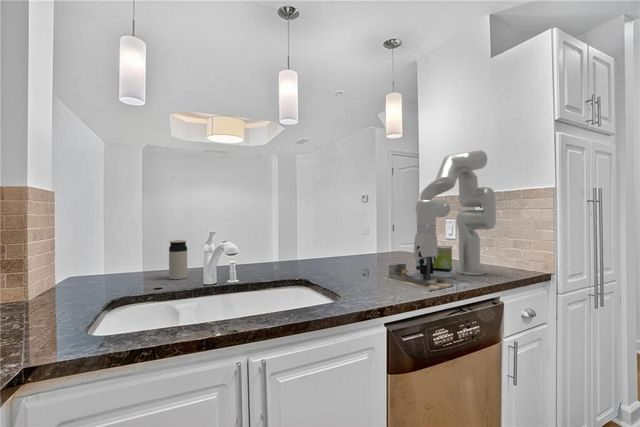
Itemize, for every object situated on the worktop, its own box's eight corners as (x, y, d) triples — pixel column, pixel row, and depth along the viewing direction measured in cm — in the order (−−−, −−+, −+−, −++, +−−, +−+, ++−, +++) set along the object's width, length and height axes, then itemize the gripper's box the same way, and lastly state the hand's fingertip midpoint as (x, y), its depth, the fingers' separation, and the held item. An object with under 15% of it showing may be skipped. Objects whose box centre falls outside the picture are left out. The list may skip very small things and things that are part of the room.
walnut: (404, 277, 145) (404, 268, 145) (411, 278, 141) (411, 269, 141) (398, 278, 143) (398, 269, 143) (405, 279, 139) (405, 270, 139)
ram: (415, 277, 142) (414, 252, 142) (438, 282, 132) (438, 254, 132) (404, 279, 138) (403, 253, 138) (427, 284, 128) (426, 256, 128)
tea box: (415, 277, 151) (415, 246, 151) (419, 273, 160) (419, 244, 160) (450, 280, 144) (449, 247, 144) (452, 276, 153) (452, 245, 153)
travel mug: (190, 276, 157) (190, 240, 157) (181, 280, 149) (181, 241, 149) (175, 276, 158) (174, 240, 158) (165, 279, 150) (165, 241, 150)
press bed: (403, 277, 152) (403, 261, 152) (453, 287, 130) (453, 269, 130) (382, 280, 144) (382, 264, 144) (431, 292, 122) (431, 273, 122)
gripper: (431, 228, 140) (431, 270, 140) (405, 229, 131) (406, 274, 131) (446, 229, 134) (446, 273, 134) (420, 230, 125) (421, 277, 125)
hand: (426, 273), depth 132 cm, fingers closed on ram, 3 cm apart
